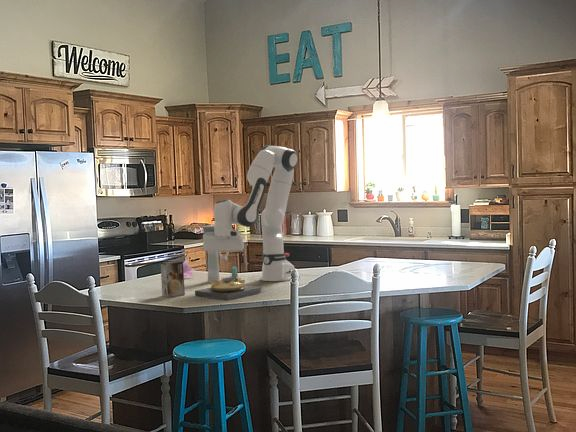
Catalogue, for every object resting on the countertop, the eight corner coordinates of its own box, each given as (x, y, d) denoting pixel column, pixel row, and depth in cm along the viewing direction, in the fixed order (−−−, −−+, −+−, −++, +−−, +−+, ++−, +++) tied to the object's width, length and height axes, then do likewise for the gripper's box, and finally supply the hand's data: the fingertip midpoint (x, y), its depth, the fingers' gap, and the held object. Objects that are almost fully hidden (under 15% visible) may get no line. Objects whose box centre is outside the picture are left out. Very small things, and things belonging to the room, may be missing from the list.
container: (201, 282, 349) (199, 226, 347) (211, 279, 357) (209, 225, 356) (216, 283, 345) (213, 226, 343) (226, 280, 353) (223, 225, 351)
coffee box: (179, 293, 318) (177, 260, 317) (185, 294, 313) (183, 261, 312) (161, 295, 313) (160, 262, 312) (167, 297, 308) (166, 263, 307)
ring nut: (240, 291, 301) (239, 273, 300) (206, 291, 304) (205, 274, 303) (252, 282, 324) (251, 266, 324) (220, 283, 327) (219, 266, 327)
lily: (171, 282, 361) (176, 267, 358) (171, 271, 372) (176, 257, 368) (192, 287, 365) (197, 272, 362) (191, 276, 375) (196, 262, 372)
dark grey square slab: (228, 288, 326) (227, 283, 326) (260, 292, 312) (260, 287, 311) (195, 295, 309) (194, 290, 309) (227, 300, 295) (227, 294, 295)
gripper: (201, 232, 321) (201, 260, 321) (242, 232, 318) (242, 260, 319) (204, 231, 327) (204, 259, 328) (244, 231, 324) (244, 259, 325)
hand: (223, 260), depth 323 cm, fingers closed
